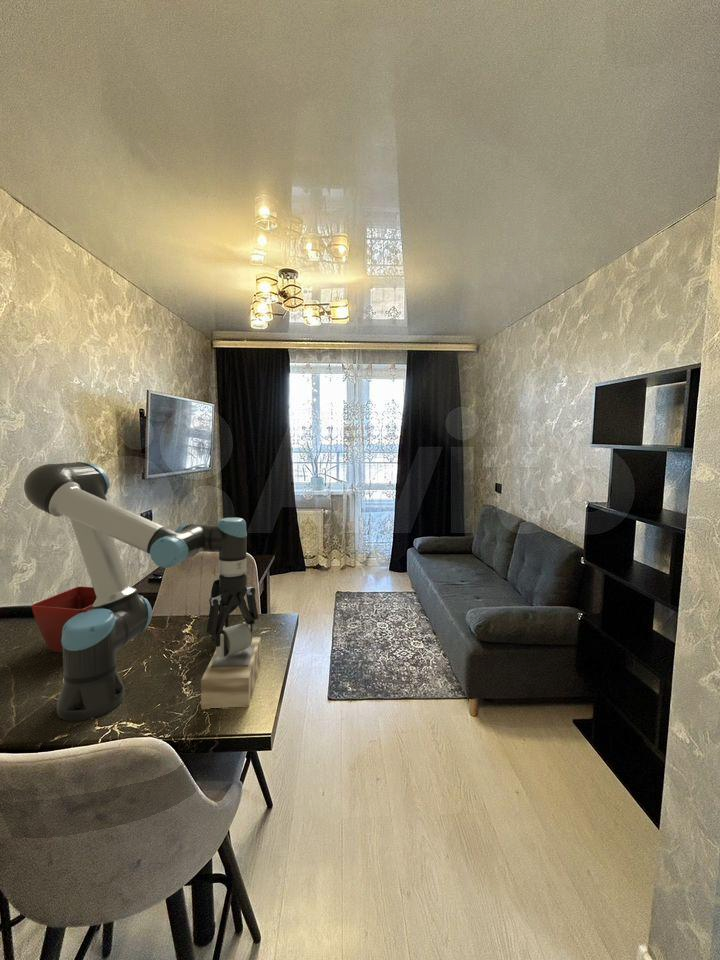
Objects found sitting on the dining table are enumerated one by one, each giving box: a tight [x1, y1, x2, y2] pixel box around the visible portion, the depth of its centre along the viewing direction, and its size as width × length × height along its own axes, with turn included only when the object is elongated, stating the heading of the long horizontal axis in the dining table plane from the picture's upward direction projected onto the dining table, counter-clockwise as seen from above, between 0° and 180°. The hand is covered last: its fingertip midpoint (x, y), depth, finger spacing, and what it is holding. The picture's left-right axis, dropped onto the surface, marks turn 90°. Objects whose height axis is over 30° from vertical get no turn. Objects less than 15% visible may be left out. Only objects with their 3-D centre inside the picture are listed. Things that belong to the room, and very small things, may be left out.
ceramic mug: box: [222, 623, 253, 657], centre depth 123 cm, size 11×8×8 cm
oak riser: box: [200, 636, 262, 710], centre depth 123 cm, size 24×12×8 cm, turn 6°
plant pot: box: [31, 585, 96, 654], centre depth 144 cm, size 19×19×17 cm
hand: (233, 650), depth 123 cm, fingers closed on ceramic mug, 8 cm apart
